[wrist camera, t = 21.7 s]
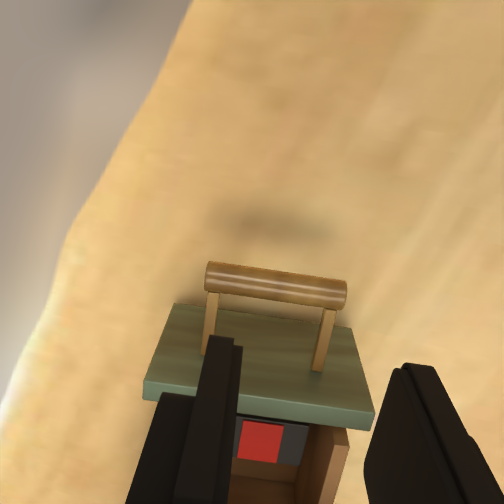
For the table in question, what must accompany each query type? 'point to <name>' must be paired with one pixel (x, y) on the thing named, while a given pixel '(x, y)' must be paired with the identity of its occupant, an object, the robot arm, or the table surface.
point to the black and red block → (269, 439)
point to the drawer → (274, 376)
